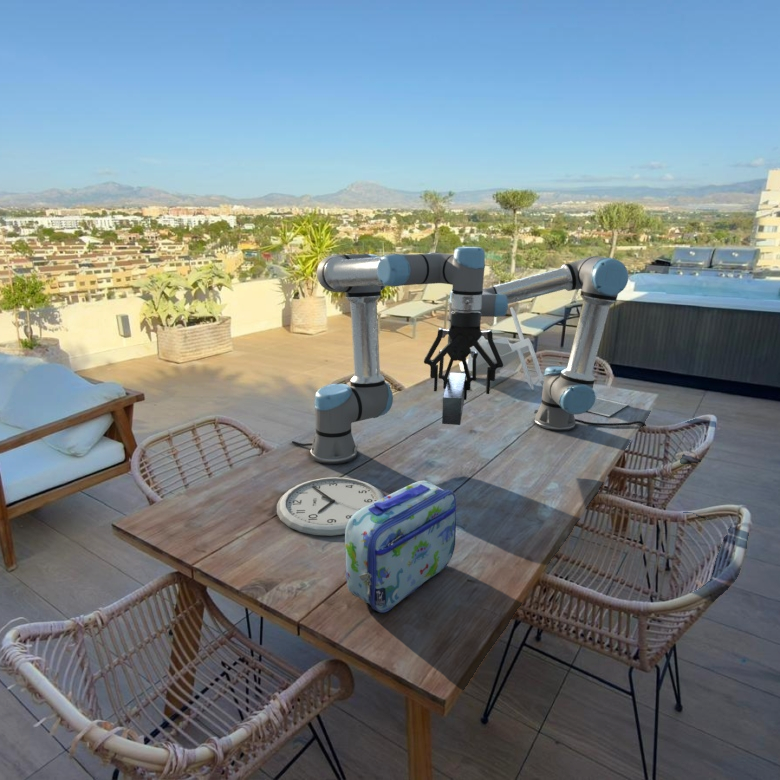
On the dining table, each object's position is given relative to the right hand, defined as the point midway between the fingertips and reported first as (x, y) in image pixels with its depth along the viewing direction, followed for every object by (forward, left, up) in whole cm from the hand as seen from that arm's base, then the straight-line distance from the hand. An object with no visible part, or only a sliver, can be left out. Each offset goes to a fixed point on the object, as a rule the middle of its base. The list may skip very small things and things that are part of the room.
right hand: (456, 398), depth 186 cm
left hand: (0, +46, +17) cm, 48 cm away
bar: (+1, +11, -1) cm, 11 cm away
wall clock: (+33, +54, -15) cm, 65 cm away
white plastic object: (-21, -73, -15) cm, 78 cm away
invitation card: (-63, -45, -15) cm, 79 cm away
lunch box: (+11, +84, -15) cm, 86 cm away
